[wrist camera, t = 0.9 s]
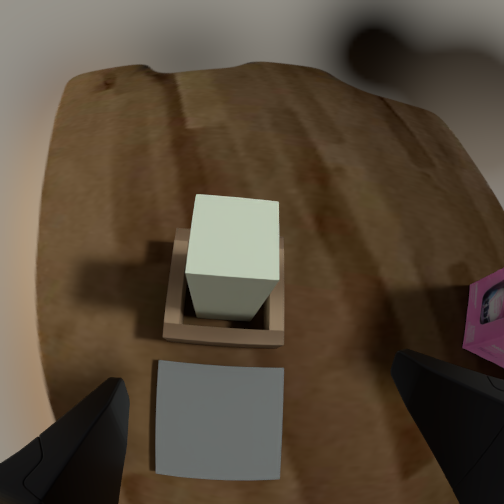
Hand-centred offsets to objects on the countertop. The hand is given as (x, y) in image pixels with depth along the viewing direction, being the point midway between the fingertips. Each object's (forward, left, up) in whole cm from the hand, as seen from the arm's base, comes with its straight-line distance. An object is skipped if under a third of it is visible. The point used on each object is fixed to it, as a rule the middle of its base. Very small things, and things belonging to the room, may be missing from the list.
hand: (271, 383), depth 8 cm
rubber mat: (-4, +1, -13) cm, 13 cm away
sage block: (+6, +1, -13) cm, 14 cm away
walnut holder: (+6, +1, -13) cm, 14 cm away
